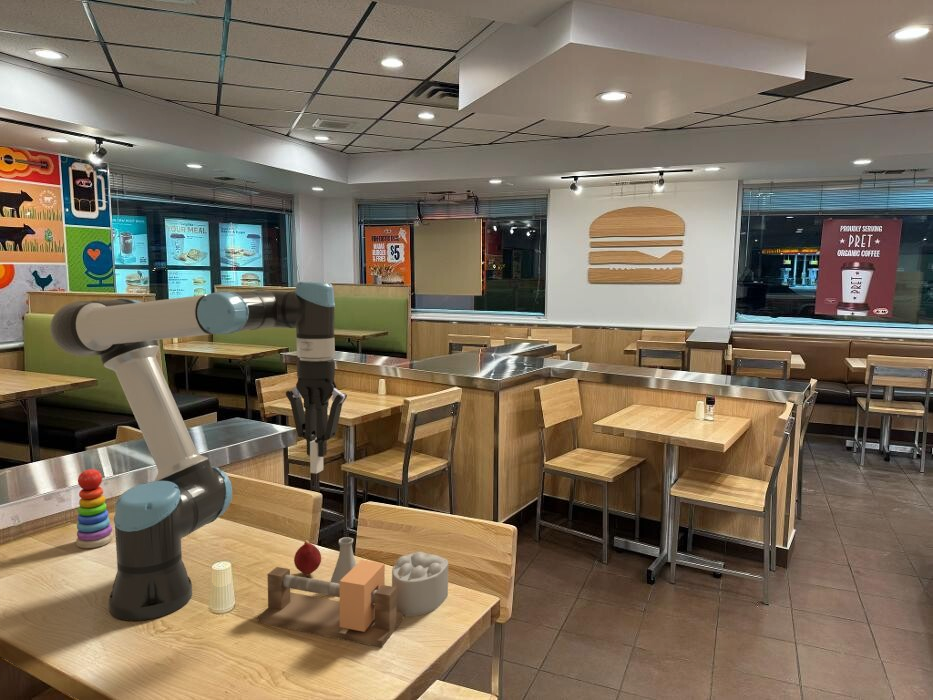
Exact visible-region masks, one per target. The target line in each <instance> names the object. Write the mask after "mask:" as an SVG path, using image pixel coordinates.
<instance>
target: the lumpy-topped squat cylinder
mask: <svg viewBox="0 0 933 700" xmlns="http://www.w3.org/2000/svg"><path fill="white" fill-rule="evenodd" d="M391 586H392V587H397V590H396V612H401V613H403V617H417V616H422V615H426V614H428V613H430V612H434V611H436V610H437V609H438V608H439V607H441V605H442V604H443V603H444V602H445V601H446V600H447V598H448V596H449V561H448V560H447V559H446V558H444V557H441V556H439V555H437V554H430V553H426V552H424V551H417V552H416V551H415V552H413V553H409V554H407V555H404V554H403V555H401V556H399V557H398V558H397V560H396V563H395V564H394V565H393V566H392V569H391Z"/></svg>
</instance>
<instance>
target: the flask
mask: <svg viewBox="0 0 933 700" xmlns="http://www.w3.org/2000/svg"><path fill="white" fill-rule="evenodd" d="M353 543H354V538H352V537H349V536H348V537H346V536H345V537H342V538H339V539H338V546H339V553H338V558H337V561H336V564H335V568H334V571H333V573H332V575H331V579H330V581H329V582H333V583H339V584H340V580H341V579H342V578H343V577H344V576H345V575H346V574H347V573H348V572H349V571H350V570H351V569H352V568H353V567H355V566H356V565H357V564H358V563H357V562H356V558H355V555H354V552H353V551H354V550H353Z"/></svg>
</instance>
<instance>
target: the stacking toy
mask: <svg viewBox="0 0 933 700" xmlns="http://www.w3.org/2000/svg"><path fill="white" fill-rule="evenodd" d="M102 482H103V475H102V473H101V472H100V471H99V470H97V469H94V468H92V469H90V468H89V469H86V470H83V471H82V472H81V473H80V474H79V476H78V478H77V484H78V485H79V487H80V488H81V490H80V491H79V493H78V496H79V498H80V499H79V502H78V504H79V506H78V508H77V513H78V515H77V521H78V522H77V524H76V529H77V532H76V537H77V538H76V539H75V544H76V546H77V547H78V548H79V549H80V548H81V549H95V548H99V547H103V546H105V545H107V544H109V543H110V542H112V541H113V539H114V533H113V526H112V525H111V524H110V523H111V521H110V517H109V511H108V510H107V507H108V506H107V503H105V502H106V497H105V495H103V493H104V489H103V488H102V487H101V484H102Z"/></svg>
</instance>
